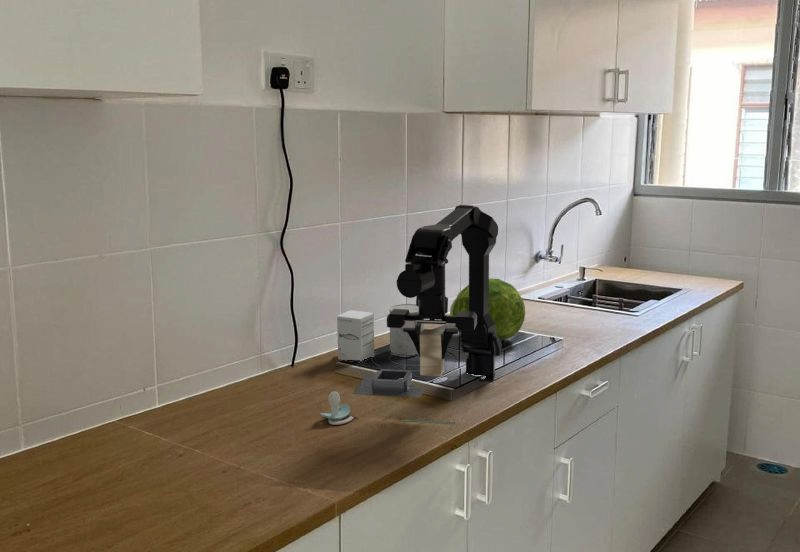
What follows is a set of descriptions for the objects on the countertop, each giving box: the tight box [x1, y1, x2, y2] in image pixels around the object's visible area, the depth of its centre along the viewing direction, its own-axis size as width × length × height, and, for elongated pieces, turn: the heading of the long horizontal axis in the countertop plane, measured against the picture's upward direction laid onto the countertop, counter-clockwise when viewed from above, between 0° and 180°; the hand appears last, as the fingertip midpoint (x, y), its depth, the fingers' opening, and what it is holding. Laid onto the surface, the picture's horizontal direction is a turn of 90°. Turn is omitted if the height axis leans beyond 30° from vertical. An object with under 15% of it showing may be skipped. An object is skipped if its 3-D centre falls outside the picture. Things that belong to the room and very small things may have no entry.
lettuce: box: [449, 277, 526, 342], centre depth 228 cm, size 19×23×18 cm
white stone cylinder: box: [388, 303, 425, 355], centre depth 220 cm, size 10×10×12 cm
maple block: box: [419, 328, 445, 377], centre depth 174 cm, size 4×4×9 cm
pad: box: [402, 418, 456, 426], centre depth 177 cm, size 11×11×1 cm
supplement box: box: [336, 309, 375, 361], centre depth 213 cm, size 7×7×13 cm
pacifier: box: [319, 390, 355, 426], centre depth 174 cm, size 7×6×6 cm
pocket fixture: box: [351, 368, 426, 399], centre depth 192 cm, size 16×14×3 cm
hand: (432, 358), depth 174 cm, fingers closed on maple block, 4 cm apart
